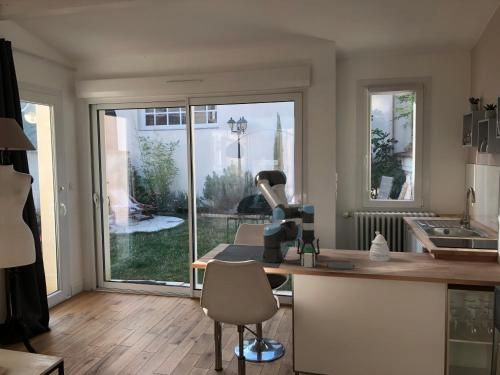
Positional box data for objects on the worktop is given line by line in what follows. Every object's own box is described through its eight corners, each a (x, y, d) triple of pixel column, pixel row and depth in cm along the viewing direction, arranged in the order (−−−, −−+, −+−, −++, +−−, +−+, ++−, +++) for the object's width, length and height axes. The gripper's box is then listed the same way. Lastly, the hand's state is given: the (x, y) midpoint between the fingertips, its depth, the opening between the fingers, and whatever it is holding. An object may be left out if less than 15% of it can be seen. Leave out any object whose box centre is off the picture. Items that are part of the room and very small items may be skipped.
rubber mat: (328, 268, 259) (328, 267, 259) (327, 263, 272) (327, 262, 272) (353, 269, 256) (353, 268, 256) (351, 263, 269) (351, 262, 269)
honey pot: (365, 258, 283) (365, 232, 282) (377, 255, 290) (377, 230, 289) (381, 262, 272) (382, 234, 271) (393, 259, 280) (394, 232, 279)
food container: (303, 258, 287) (303, 243, 286) (298, 256, 292) (298, 242, 292) (318, 256, 291) (318, 242, 290) (314, 254, 297) (314, 240, 296)
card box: (304, 267, 263) (304, 256, 263) (304, 263, 272) (304, 253, 271) (312, 267, 262) (312, 256, 262) (312, 263, 271) (312, 253, 271)
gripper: (292, 230, 263) (292, 266, 265) (324, 230, 260) (324, 266, 262) (292, 228, 271) (292, 263, 272) (324, 228, 268) (324, 263, 269)
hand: (308, 264), depth 267 cm, fingers open, 7 cm apart
